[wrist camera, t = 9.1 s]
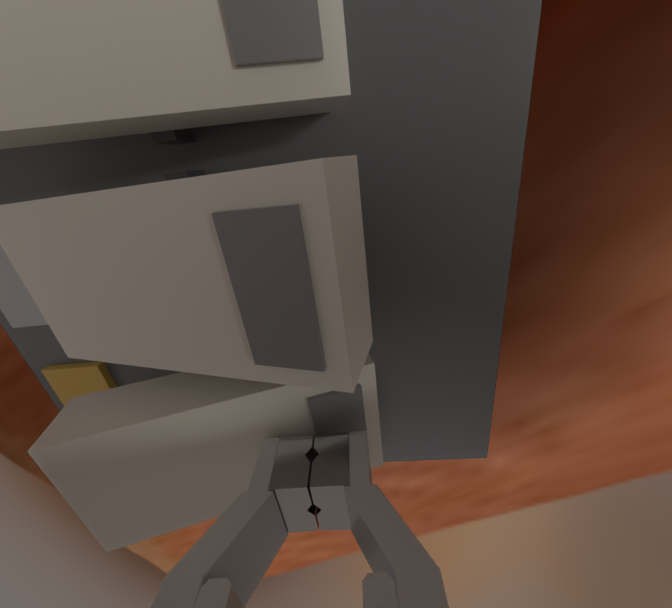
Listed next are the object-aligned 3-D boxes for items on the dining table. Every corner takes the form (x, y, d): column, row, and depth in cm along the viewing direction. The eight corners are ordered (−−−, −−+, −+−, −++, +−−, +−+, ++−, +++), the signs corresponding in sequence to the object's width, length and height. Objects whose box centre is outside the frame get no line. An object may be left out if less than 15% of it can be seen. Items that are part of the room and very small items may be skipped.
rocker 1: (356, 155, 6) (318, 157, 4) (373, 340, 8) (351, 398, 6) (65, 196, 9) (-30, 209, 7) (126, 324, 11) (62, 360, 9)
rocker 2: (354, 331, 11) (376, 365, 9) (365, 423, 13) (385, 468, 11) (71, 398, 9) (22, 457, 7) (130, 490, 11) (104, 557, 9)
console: (465, -124, 10) (657, -613, 4) (447, 369, 18) (497, 479, 12) (-21, -15, 12) (-452, -214, 5) (165, 388, 20) (79, 493, 14)
